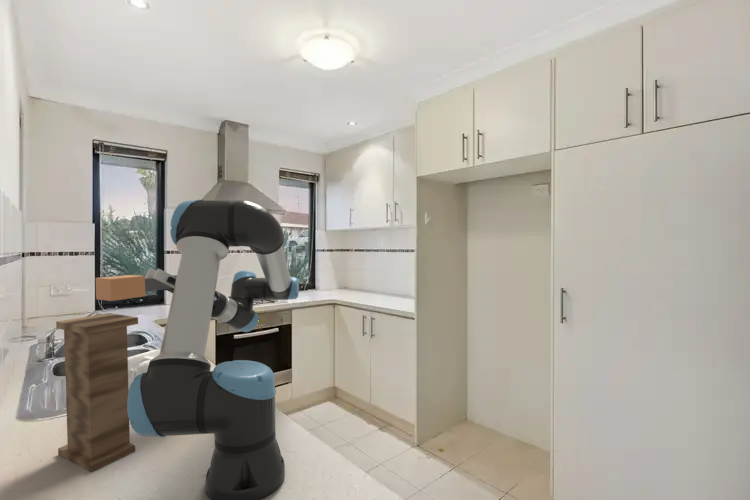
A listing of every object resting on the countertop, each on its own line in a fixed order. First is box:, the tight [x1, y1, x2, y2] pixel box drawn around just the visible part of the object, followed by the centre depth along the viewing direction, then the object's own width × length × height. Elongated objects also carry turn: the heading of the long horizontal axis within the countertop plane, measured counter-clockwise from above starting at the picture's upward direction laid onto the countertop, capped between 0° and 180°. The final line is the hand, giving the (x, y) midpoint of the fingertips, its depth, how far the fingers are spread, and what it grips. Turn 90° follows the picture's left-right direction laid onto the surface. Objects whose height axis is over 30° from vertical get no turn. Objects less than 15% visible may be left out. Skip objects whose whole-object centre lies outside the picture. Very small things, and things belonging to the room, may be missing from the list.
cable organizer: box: [128, 349, 161, 390], centre depth 126 cm, size 15×11×12 cm
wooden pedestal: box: [55, 312, 139, 473], centre depth 90 cm, size 14×11×30 cm
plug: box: [95, 274, 177, 302], centre depth 99 cm, size 6×19×5 cm, turn 152°
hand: (152, 273), depth 101 cm, fingers closed on plug, 3 cm apart
